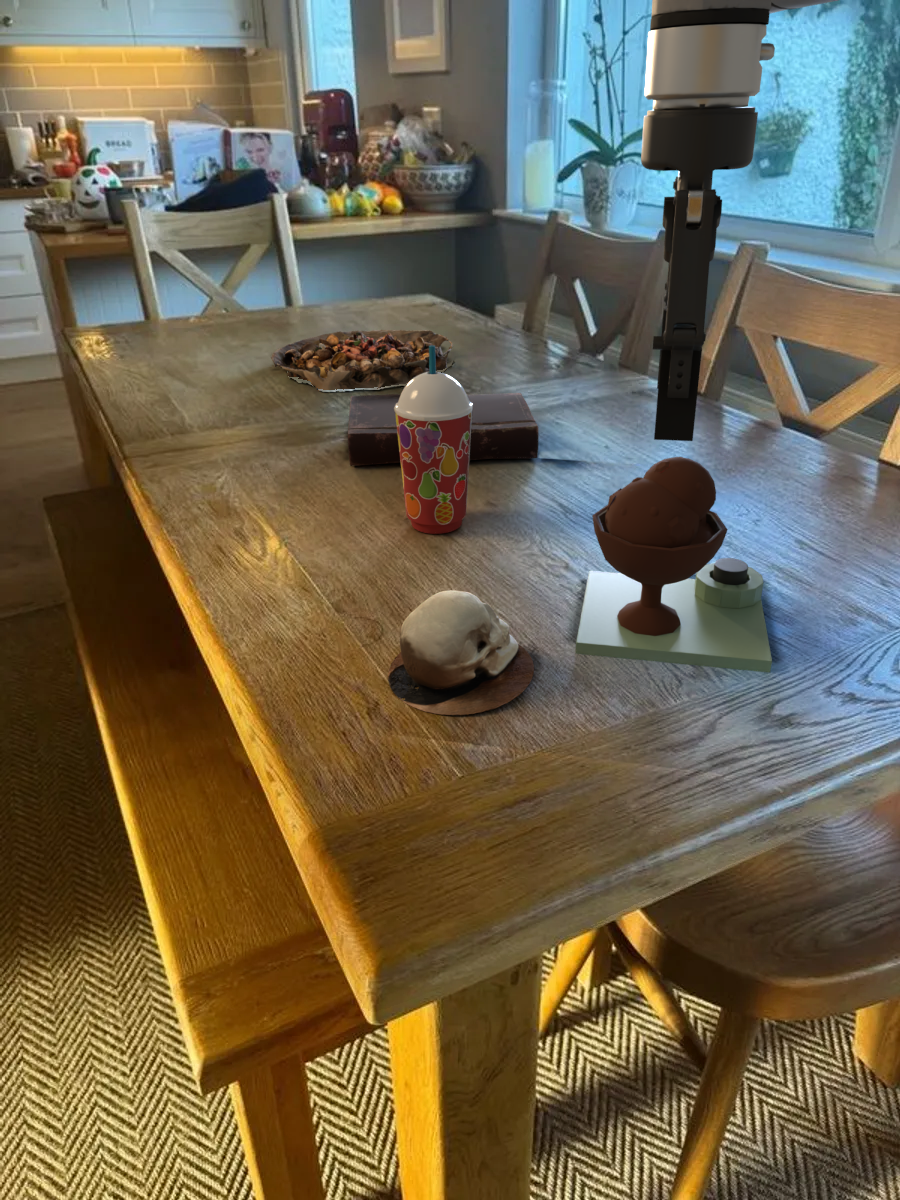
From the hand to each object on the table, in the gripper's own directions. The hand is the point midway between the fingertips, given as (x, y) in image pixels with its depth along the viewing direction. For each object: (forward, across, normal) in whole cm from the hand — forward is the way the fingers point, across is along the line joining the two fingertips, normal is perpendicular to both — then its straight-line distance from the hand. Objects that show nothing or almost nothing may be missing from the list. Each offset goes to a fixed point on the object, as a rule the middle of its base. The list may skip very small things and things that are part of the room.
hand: (673, 411), depth 71 cm
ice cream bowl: (+19, 0, 0) cm, 19 cm away
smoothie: (+20, +20, +24) cm, 37 cm away
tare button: (+18, +6, -7) cm, 20 cm away
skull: (+20, -10, +16) cm, 27 cm away
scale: (+20, +2, -2) cm, 20 cm away
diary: (+20, +48, +30) cm, 60 cm away
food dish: (+20, +88, +54) cm, 105 cm away
